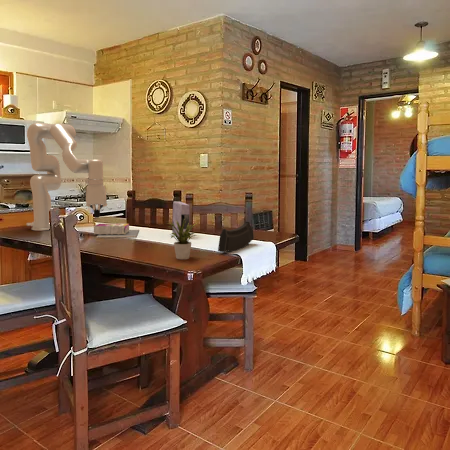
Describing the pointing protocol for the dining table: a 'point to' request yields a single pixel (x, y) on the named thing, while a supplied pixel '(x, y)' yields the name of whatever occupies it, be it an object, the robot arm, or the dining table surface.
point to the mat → (129, 235)
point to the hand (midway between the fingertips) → (97, 217)
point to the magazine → (235, 238)
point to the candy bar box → (111, 229)
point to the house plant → (182, 241)
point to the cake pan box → (180, 215)
